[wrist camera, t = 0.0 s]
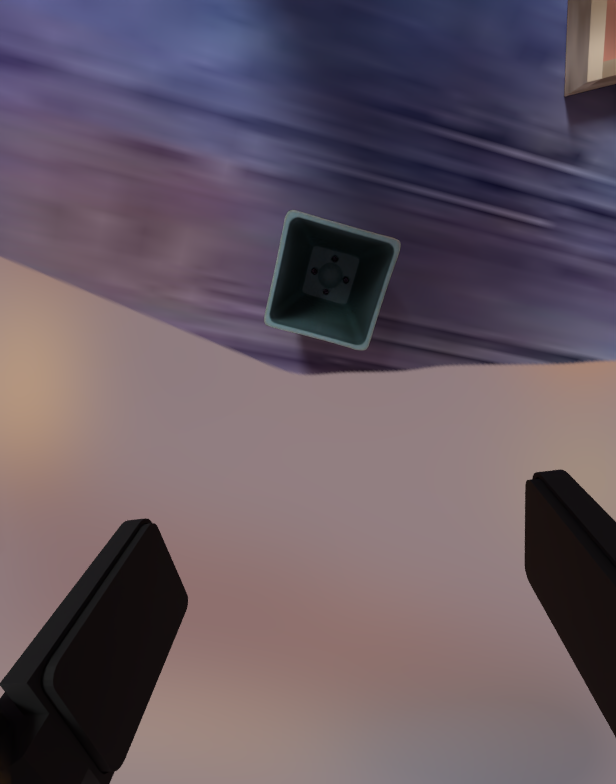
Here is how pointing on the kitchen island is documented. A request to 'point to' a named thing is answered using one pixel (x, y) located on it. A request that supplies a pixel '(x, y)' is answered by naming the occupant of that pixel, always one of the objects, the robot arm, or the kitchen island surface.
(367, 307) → the flower pot
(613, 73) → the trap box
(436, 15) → the kitchen island surface
